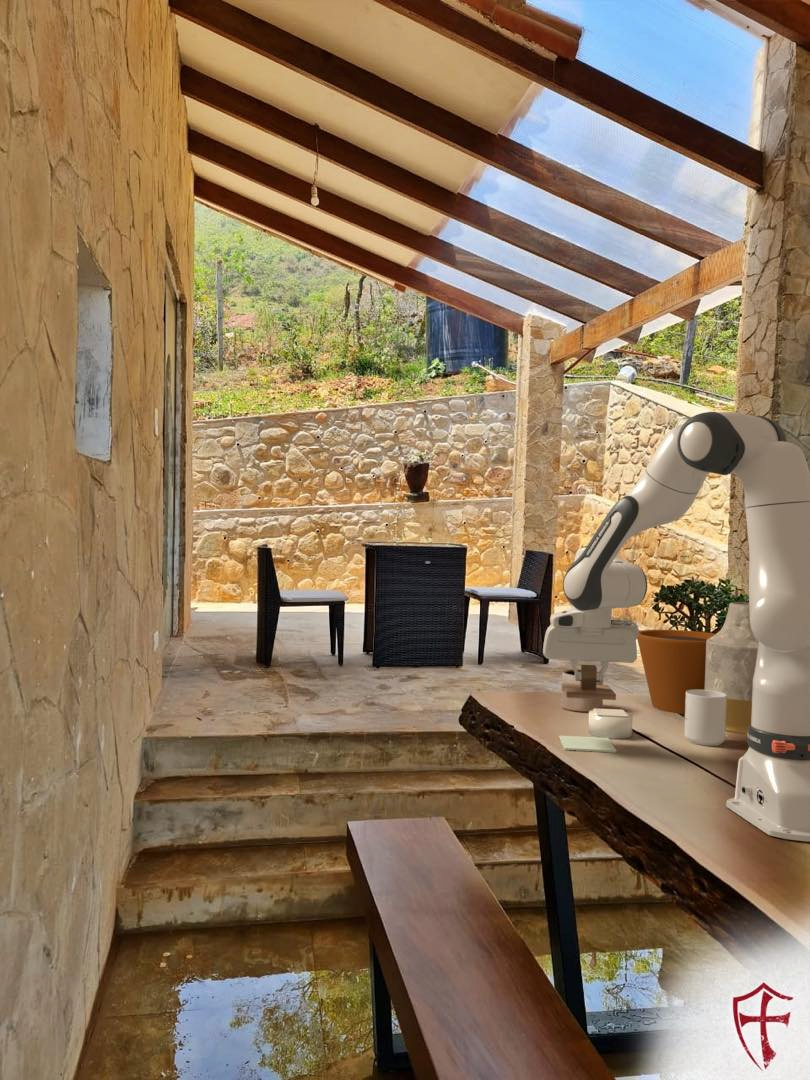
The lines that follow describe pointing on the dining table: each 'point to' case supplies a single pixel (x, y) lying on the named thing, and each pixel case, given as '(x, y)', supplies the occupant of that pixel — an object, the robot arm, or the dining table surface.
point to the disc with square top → (610, 723)
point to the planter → (578, 703)
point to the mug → (705, 717)
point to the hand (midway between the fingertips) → (588, 681)
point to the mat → (587, 744)
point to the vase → (733, 666)
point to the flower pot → (673, 665)
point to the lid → (588, 686)
